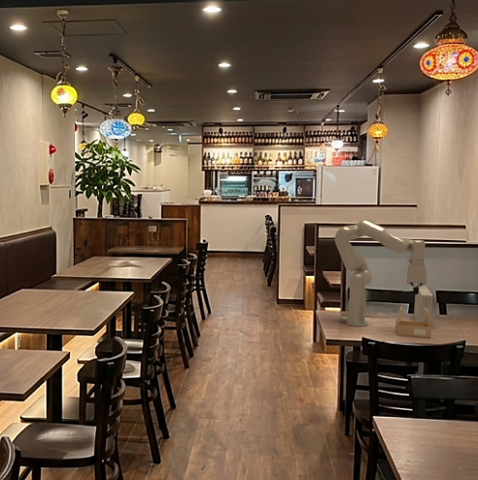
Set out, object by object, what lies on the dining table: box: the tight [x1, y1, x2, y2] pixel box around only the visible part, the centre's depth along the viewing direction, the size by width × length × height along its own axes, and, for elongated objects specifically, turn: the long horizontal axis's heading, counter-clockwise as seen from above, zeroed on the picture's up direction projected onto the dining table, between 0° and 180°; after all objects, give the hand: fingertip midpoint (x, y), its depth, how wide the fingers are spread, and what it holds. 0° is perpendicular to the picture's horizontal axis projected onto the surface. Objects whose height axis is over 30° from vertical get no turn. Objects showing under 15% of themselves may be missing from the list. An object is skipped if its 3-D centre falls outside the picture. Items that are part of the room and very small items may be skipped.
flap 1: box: [395, 305, 404, 323], centre depth 303 cm, size 1×11×8 cm, turn 169°
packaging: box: [413, 285, 434, 323], centre depth 329 cm, size 30×6×20 cm, turn 168°
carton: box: [394, 319, 432, 339], centre depth 302 cm, size 18×12×6 cm
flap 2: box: [425, 308, 432, 327], centre depth 300 cm, size 1×11×8 cm, turn 168°
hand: (415, 294), depth 300 cm, fingers closed
